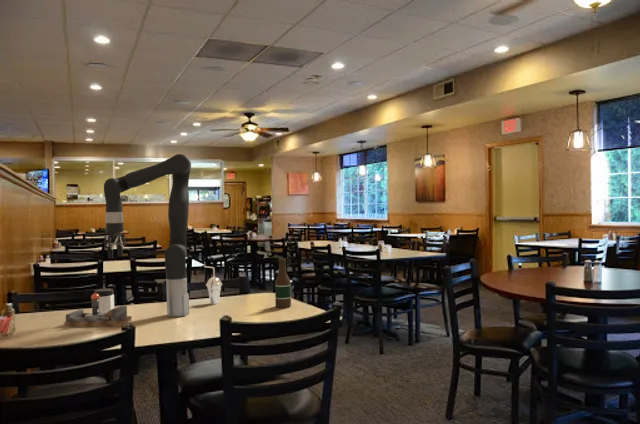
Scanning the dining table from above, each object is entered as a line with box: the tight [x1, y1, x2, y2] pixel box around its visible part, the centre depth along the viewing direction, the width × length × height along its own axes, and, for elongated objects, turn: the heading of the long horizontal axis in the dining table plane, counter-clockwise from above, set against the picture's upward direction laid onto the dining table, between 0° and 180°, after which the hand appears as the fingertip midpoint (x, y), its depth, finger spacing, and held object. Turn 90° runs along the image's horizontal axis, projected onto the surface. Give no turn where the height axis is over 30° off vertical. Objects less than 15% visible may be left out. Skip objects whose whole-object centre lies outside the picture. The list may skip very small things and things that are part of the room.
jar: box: [93, 288, 115, 313], centre depth 231 cm, size 9×8×12 cm
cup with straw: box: [203, 265, 224, 305], centre depth 254 cm, size 8×9×20 cm
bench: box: [63, 305, 132, 328], centre depth 214 cm, size 24×12×7 cm, turn 85°
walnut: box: [107, 310, 111, 319], centre depth 213 cm, size 4×4×4 cm
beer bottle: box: [274, 257, 292, 309], centre depth 242 cm, size 8×8×24 cm
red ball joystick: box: [85, 293, 107, 317], centre depth 214 cm, size 7×7×11 cm
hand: (115, 257), depth 223 cm, fingers open, 8 cm apart
